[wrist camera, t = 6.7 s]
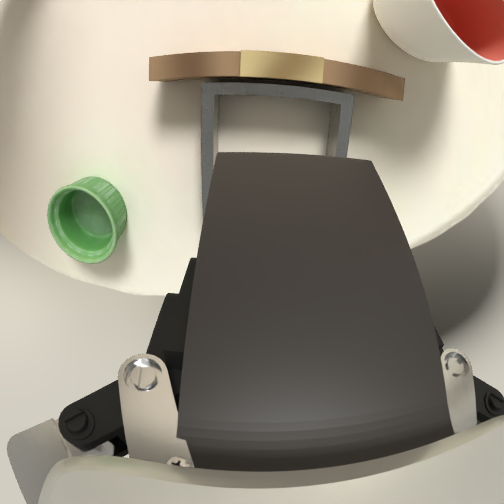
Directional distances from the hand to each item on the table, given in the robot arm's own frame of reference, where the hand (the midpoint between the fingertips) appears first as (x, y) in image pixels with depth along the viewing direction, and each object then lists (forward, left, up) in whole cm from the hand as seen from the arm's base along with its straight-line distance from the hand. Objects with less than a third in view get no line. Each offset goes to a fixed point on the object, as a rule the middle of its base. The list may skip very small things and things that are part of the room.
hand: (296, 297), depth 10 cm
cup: (+13, +18, -18) cm, 29 cm away
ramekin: (-19, -5, -18) cm, 27 cm away
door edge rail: (0, +9, -18) cm, 20 cm away
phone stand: (0, 0, -3) cm, 3 cm away
